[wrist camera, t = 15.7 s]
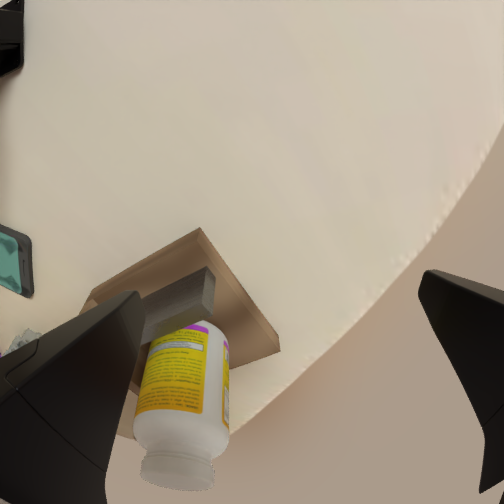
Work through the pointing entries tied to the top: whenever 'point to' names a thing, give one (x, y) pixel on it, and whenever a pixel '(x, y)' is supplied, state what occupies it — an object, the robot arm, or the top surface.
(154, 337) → the gray flat bar
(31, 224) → the top surface
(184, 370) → the supplement bottle
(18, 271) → the smartphone
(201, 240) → the brown piece
